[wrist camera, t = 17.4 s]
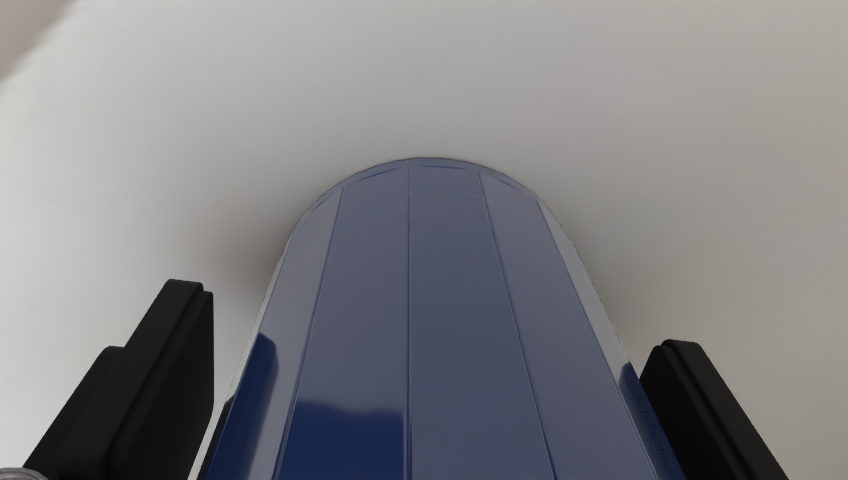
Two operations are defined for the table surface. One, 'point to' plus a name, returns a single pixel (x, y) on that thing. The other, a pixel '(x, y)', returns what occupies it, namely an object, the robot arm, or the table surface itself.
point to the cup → (434, 345)
